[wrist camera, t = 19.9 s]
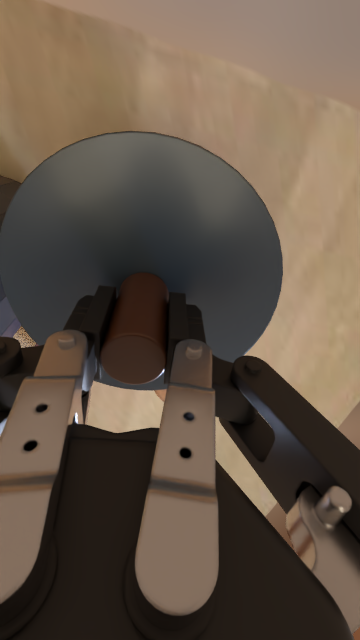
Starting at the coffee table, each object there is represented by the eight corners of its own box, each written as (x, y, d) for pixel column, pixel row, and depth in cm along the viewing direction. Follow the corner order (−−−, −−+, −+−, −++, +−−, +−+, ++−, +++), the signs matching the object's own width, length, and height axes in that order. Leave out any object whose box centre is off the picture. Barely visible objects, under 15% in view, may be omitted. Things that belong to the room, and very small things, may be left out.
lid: (32, 369, 19) (-21, 462, 14) (-22, 107, 11) (-183, 92, 6) (241, 383, 20) (266, 474, 15) (315, 154, 13) (418, 173, 7)
